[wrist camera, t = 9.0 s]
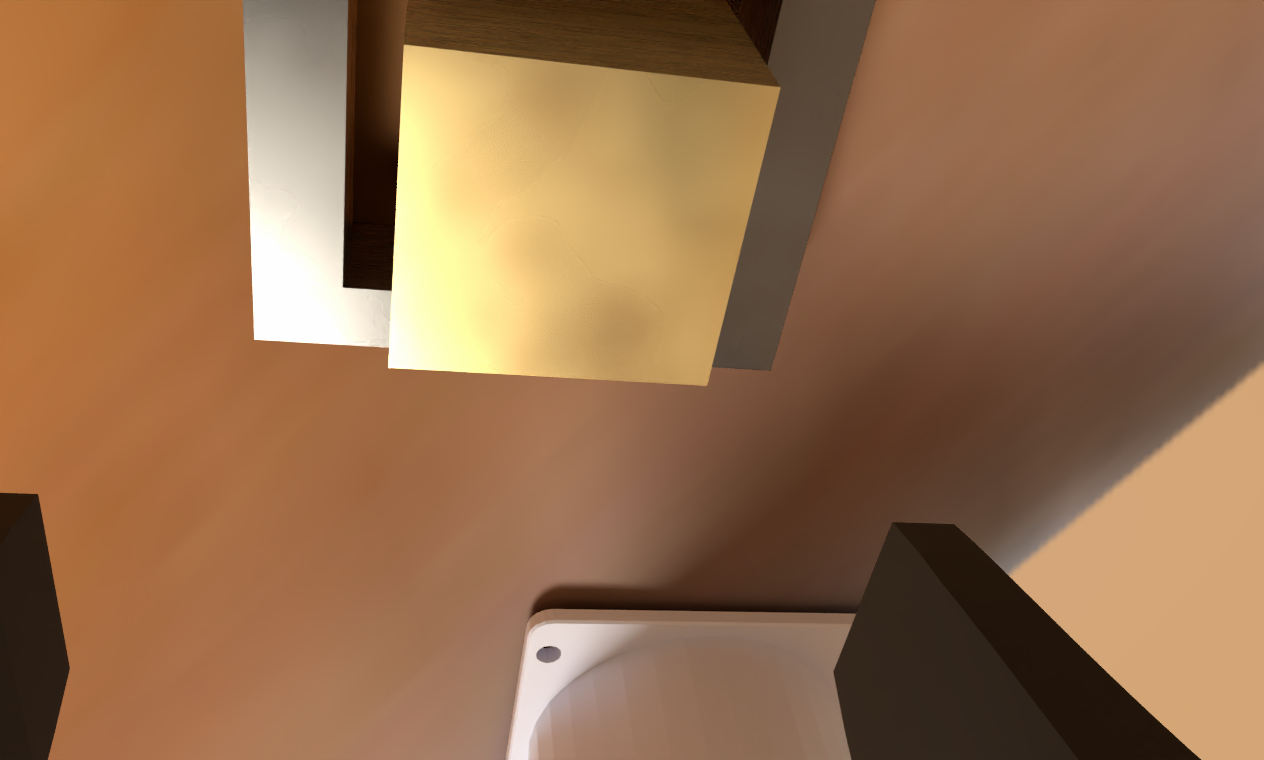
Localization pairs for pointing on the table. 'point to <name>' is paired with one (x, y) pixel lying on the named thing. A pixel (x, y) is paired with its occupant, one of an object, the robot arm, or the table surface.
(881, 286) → the table surface
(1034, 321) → the table surface
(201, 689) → the table surface
